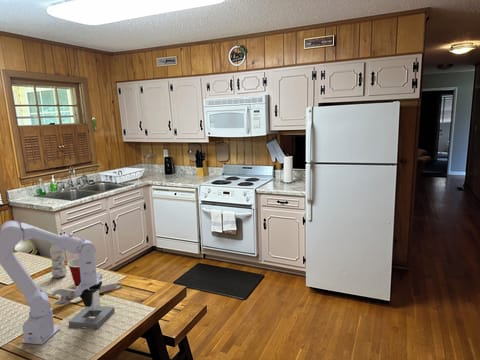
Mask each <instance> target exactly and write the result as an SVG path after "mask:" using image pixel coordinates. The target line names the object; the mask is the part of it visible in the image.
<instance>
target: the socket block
mask: <svg viewBox="0 0 480 360" xmlns="http://www.w3.org/2000/svg"><path fill="white" fill-rule="evenodd" d="M114 311H115V307H114V306H107V305H100V306H99V307H98V308H97V309H96V310H94V311H92V310H85V307H84V308H82V309H81V310H80V311H79V312H78V313H77V314H75V315H74V316H73V317H72V318H70V320H69V321H68V326H69V327H72V326H73V327H75V328H82V327H85V329H93V328H96V329H95V330H98V329H99V328H100V327H101V326H103V324H104V323H105V322H106V321H107V320H108V319H109V318H110V317H111V316H112V315H113V314H114V313H115V312H114ZM113 312H114V313H113ZM94 314H96V316H95V318H94V317H90V316H91V315H94ZM106 319H107V320H106Z"/></svg>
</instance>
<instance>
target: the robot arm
mask: <svg viewBox="0 0 480 360" xmlns="http://www.w3.org/2000/svg"><path fill="white" fill-rule="evenodd" d="M31 239H33V240H34V239H35V240H38V241H43V242H45V243H50V244H52V243H54V244H56V245H57V248H58V249H61V250H64V252H65V251H66V252H70V253H73V254H78V258H79V266H80V276H81V283H80V285H79V286H78V287H76V289H74V290H75V295H79V296H80V299H81V301H82V303H83V305H85V306H84V308H85V307H90V306H91V295H92V292H93V290H89V289H88V288H92V289H99V290H100V287H101V285H103V281H101V279H103V278H104V277H103V272H102V273H101V272H98V273H97V264H96V257H95V255H96V252H97V249H96V247H95V245H94V243H93V242H92V241H91V240H89V239H88V238H84V237H82V238H79V237H76V236H73V233H70V232H68V234H67V233H63V234H60V235H59V234H56V233H55V232H51V231H48V230H45V229H42V228H39V227H37V226H35V225H31V224H29V223H25V222H18V221H17V220H7V221H5V222H3V223H2V225H1V226H0V266H1V267H2V268H3V270H4V272H6V274H7V275H8V277H9V278H10V279H11V281H12V282H13V283H14V284H15V286H16V287H17V289H18V290H19V291H20V293H21V295H23V297H24V298H25V301H26V304H27V305H28V306H29V313H28V318H27V320H26V321H24V323H23V325H22V333H23V334H22V335H23V340H22V343H24V344H32V345H33V344H34V345H43V344H44V343H45V342H46V341H48V340H49V339H51V337H53V336H54V334H57V332H58V331H59V330H60V329H61V327H58V326H55V322H54V314H53V307H52V304H51V301H50V299H49V293H48V292H47V291H45V290H43V289H41V287H40V286H39V285H38V284H37V283H36V281H34V279H33V278H32V277H31V275H30V273H28V271H27V270H26V268H25V266H24V265H23V264H22V262H20V260H19V259H18V257H17V256H16V254H15V253H14V250H15V248H16V246H17V245H18V244H19V243H20V242H21V241H22V240H23V242H26V241H29V240H31Z"/></svg>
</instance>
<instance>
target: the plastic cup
mask: <svg viewBox="0 0 480 360" xmlns="http://www.w3.org/2000/svg"><path fill="white" fill-rule="evenodd" d="M66 263H67V266H68V268H69V271H70V273H71V277H72V280H73V283H74V286H75V287H76V286H79V285H80V283H81V276H80V266H79V257H76V258H72V259H70V260H68V261H67V262H66Z"/></svg>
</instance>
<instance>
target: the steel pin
mask: <svg viewBox="0 0 480 360" xmlns="http://www.w3.org/2000/svg"><path fill="white" fill-rule="evenodd" d="M89 290H93V292H92V295H91V306H90V307H85V305H84V304H83V305H84V308H85V310H92V311H94V310H96V309H97V308H98V307H99V306H101V302H100V300H101V299H100V292H99V289H92V288H89Z"/></svg>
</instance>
